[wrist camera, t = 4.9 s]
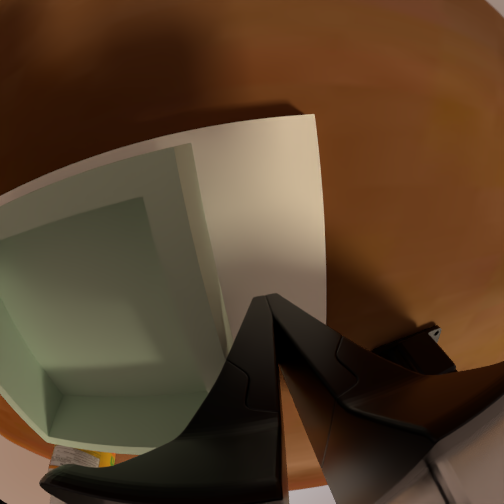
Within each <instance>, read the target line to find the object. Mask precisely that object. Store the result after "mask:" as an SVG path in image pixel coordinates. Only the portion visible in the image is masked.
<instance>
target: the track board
mask: <svg viewBox="0 0 504 504" xmlns="http://www.w3.org/2000/svg"><path fill="white" fill-rule="evenodd" d="M188 143H191V144H192V149H193V155H194V160H195V166H196V171H197V177H198V182H199V187H200V192H201V197H202V203H203V208H204V213H205V217H206V222H207V227H208V232H209V237H210V241H211V246H212V251H213V255H214V260H215V264H216V269H217V273H218V278H219V282H220V287H221V291H222V295H223V299H224V304H225V308H226V312H227V316H228V320H229V324H230V328H231V332H232V336H233V340H235V338H236V335H237V333H238V331H239V329H240V326H241V324H242V322H243V319H244V317H245V315H246V312H247V310H248V308H249V305H250V303H251V301H252V298H253V297H256V296H262V295H267V294H272V293H278V294H279V295H281V296H282V297H284V298H285V299H287V300H288V301H290V302H291V303H293V304H295V305H296V306H298V307H299V308H301V309H302V310H304V311H305V312H307V313H308V314H310V315H311V316H313V317H315V318H316V319H318V320H319V321H321V322H322V323H324V324H325V325H326V250H325V226H324V208H323V194H322V181H321V169H320V159H319V149H318V140H317V131H316V123H315V115H314V114H309V115H295V116H283V117H273V118H264V119H255V120H248V121H240V122H234V123H227V124H221V125H215V126H210V127H204V128H199V129H194V130H189V131H184V132H180V133H175V134H171V135H166V136H162V137H158V138H154V139H150V140H146V141H143V142H139V143H135V144H132V145H128V146H125V147H121V148H118V149H115V150H112V151H108V152H105V153H102V154H99V155H96V156H93V157H90V158H87V159H85V160H82V161H79V162H76V163H74V164H71V165H68V166H66V167H63V168H61V169H58V170H56V171H53V172H51V173H48V174H46V175H44V176H41V177H39V178H37V179H34V180H32V181H30V182H28V183H26V184H23V185H21V186H19V187H17V188H15V189H13V190H11V191H9V192H7V193H5V194H3V195H1V196H0V206H2V205H4V204H6V203H8V202H10V201H13V200H15V199H17V198H19V197H21V196H24V195H26V194H28V193H30V192H33V191H35V190H37V189H40V188H42V187H45V186H47V185H50V184H52V183H55V182H57V181H60V180H63V179H65V178H68V177H71V176H74V175H76V174H79V173H82V172H85V171H88V170H91V169H94V168H97V167H100V166H103V165H106V164H110V163H113V162H116V161H120V160H123V159H127V158H130V157H134V156H138V155H141V154H145V153H149V152H153V151H157V150H161V149H165V148H170V147H174V146H178V145H183V144H188Z"/></svg>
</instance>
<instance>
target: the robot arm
mask: <svg viewBox="0 0 504 504" xmlns="http://www.w3.org/2000/svg"><path fill="white" fill-rule="evenodd" d="M440 333H441V328H440V327H439V326H438V325H436V326H433V327H431V328H428V329H426V330H424V331H421V332H419V333H416V334H414V335H411V336H409V337H406V338H404V339H401V340H398V341H396V342H393V343H390V344H387V345H384V346H382V347H379V348H376V349H375V350H373V351H372V352H370V351H368V350H366V349H364V348H363V347H361V346H359V345H357V344H356V343H354V342H352V341H351V340H349V339H348V338H346V337H344V336H343V337H342V335H341V334H340V333H338V332H336V331H335V330H333V329H332V328H330V327H329V326H327V325H325V324H324V323H322V322H321V321H319V320H318V319H316V318H315V317H313V316H311V315H310V314H308V313H307V312H305V311H304V310H302V309H301V308H299V307H298V306H296V305H295V304H293V303H291V302H290V301H288V300H287V299H285V298H284V297H282V296H281V295H279V294H278V293H272V294H267V295H262V296H256V297H253V298H252V301H251V303H250V305H249V308H248V310H247V312H246V315H245V317H244V319H243V322H242V324H241V326H240V329H239V331H238V333H237V335H236V338H235V340H234V342H233V345H232V347H231V349H230V352H229V354H228V356H227V358H226V361H225V363H224V365H223V367H222V370H221V372H220V374H219V376H218V378H217V380H216V382H215V383H214V385H213V387H212V388H211V390H210V392H209V393H208V395H207V396H206V398H205V399H204V401H203V403H202V404H201V406H200V407H199V409H198V410H197V412H196V413H195V415H194V416H193V417H192V419H191V420H190V422H189V423H188V425H187V426H186V428H185V429H184V430H183V431H182V432H181V434H180V435H178V436H177V437H176V438H175V439H174V440H172V441H170V442H168V443H166V444H164V445H162V446H160V447H158V448H155V449H153V450H151V451H149V452H146V453H144V454H142V455H139V456H137V457H135V458H132V459H130V460H127V461H125V462H122V463H119V464H116V465H113V466H107V467H87V466H82V465H76V464H64V465H62V466H60V467H57V468H55V469H53V470H51V471H49V472H48V473H47V474H45V476H44V477H43V478H42V479H41V480H40V482H39V484H40V486H41V487H42V488H43V489H44V490H45V491H46V492H48V493H49V494H51V495H53V496H54V497H56V498H58V499H59V500H61V501H63V502H65V503H67V504H289V492H288V478H287V464H286V450H285V437H284V424H283V412H282V400H281V389H280V377H279V366H280V368H281V371H282V373H283V376H284V378H285V381H286V383H287V386H288V388H289V391H290V393H291V396H292V398H293V401H294V403H295V406H296V408H297V411H298V413H299V416H300V418H301V420H302V423H303V425H304V428H305V430H306V433H307V435H308V438H309V440H310V442H311V445H312V447H313V450H314V452H315V454H316V457H317V459H318V462H319V464H320V466H321V468H322V471H323V474H324V476H325V478H326V481H327V483H328V485H329V487H330V490H331V492H332V494H333V497H334V499H335V502H336V504H504V361H503V362H500V363H497V364H494V365H490V366H486V367H481V368H476V369H471V370H466V371H460V372H458V371H457V370H456V365H455V364H454V363H453V361H452V360H451V359H450V358H449V357H448V355H447V354H446V353H445V352H444V351H443V350H442V348H441V347H440V346H439V345H438V344H437V342H438V339H439V336H440ZM278 363H279V366H278ZM0 504H7V503H5V502H3V501H2V500H0Z"/></svg>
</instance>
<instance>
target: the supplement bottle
mask: <svg viewBox="0 0 504 504" xmlns="http://www.w3.org/2000/svg"><path fill="white" fill-rule="evenodd" d="M115 455H116V453H109V452H100V451H92V450H85V449H78V448H72V447H67V446H62V445H57V444H55V446H54V450H53V453H52V457H51V461H50V464H49V469H48V472H49V471H51V470H53V469H55V468H57V467H60V466H62V465H64V464H76V465H82V466H87V467H107V466H113V465H114V461H115ZM50 504H67V503H65V502H63V501H61V500H59V499H58V498H56V497H54V496H53V495H51V498H50Z"/></svg>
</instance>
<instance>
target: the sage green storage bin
mask: <svg viewBox="0 0 504 504" xmlns="http://www.w3.org/2000/svg"><path fill="white" fill-rule="evenodd" d="M233 342H234V340H233V336H232V332H231V328H230V324H229V320H228V316H227V312H226V308H225V304H224V299H223V295H222V291H221V287H220V282H219V278H218V273H217V269H216V264H215V260H214V255H213V251H212V246H211V241H210V237H209V232H208V227H207V222H206V217H205V213H204V208H203V203H202V197H201V192H200V187H199V182H198V177H197V171H196V166H195V160H194V155H193V149H192V144H191V143H188V144H183V145H178V146H174V147H170V148H165V149H161V150H157V151H153V152H149V153H145V154H141V155H138V156H134V157H130V158H127V159H123V160H120V161H116V162H113V163H110V164H106V165H103V166H100V167H97V168H94V169H91V170H88V171H85V172H82V173H79V174H76V175H74V176H71V177H68V178H65V179H63V180H60V181H57V182H55V183H52V184H50V185H47V186H45V187H42V188H40V189H37V190H35V191H33V192H30V193H28V194H26V195H24V196H21V197H19V198H17V199H15V200H13V201H10V202H8V203H6V204H4V205H2V206H0V394H1V395H2V396H3V398H4V399H5V400H6V401H7V402H8V403H9V405H10V406H11V407H12V408H13V409H14V410H15V411H16V412H17V413H18V414H19V416H20V417H21V418H22V419H23V420H24V421H25V422H26V423H27V424H28V425H29V426H30V427H31V428H32V429H33V430H34V431H35V432H36V433H37V434H38V435H40V436H41V437H42V438H43V439H44V440H45V441H46V442H48V443H52V444H57V445H62V446H67V447H72V448H78V449H85V450H92V451H100V452H109V453H120V454H136V455H142V454H144V453H146V452H149V451H151V450H153V449H155V448H158V447H160V446H162V445H164V444H166V443H168V442H170V441H172V440H174V439H175V438H176V437H177V436H178V435H180V434H181V432H182V431H183V430H184V429H185V428H186V426H187V425H188V423H189V422H190V420H191V419H192V417H193V416H194V415H195V413H196V412H197V410H198V409H199V407H200V406H201V404H202V403H203V401H204V399H205V398H206V396H207V395H208V393H209V392H210V390H211V388H212V387H213V385H214V383H215V382H216V380H217V378H218V376H219V374H220V372H221V370H222V367H223V365H224V363H225V361H226V358H227V356H228V354H229V352H230V349H231V347H232V345H233Z"/></svg>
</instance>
